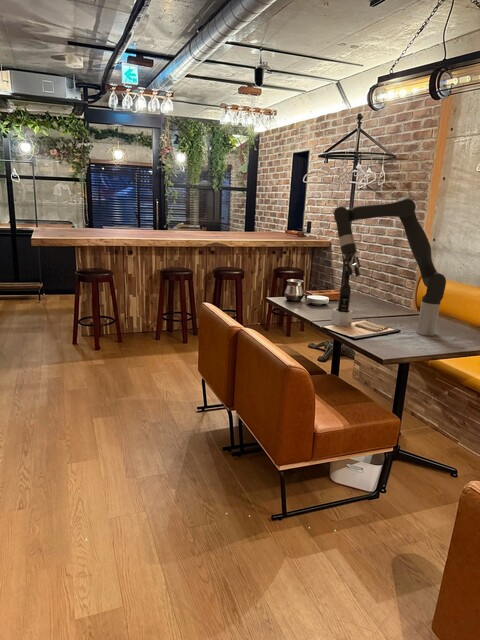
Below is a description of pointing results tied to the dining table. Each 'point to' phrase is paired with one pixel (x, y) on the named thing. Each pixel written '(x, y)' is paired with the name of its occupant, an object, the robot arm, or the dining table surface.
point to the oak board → (371, 325)
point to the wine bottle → (344, 294)
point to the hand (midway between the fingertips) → (354, 275)
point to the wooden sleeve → (341, 318)
